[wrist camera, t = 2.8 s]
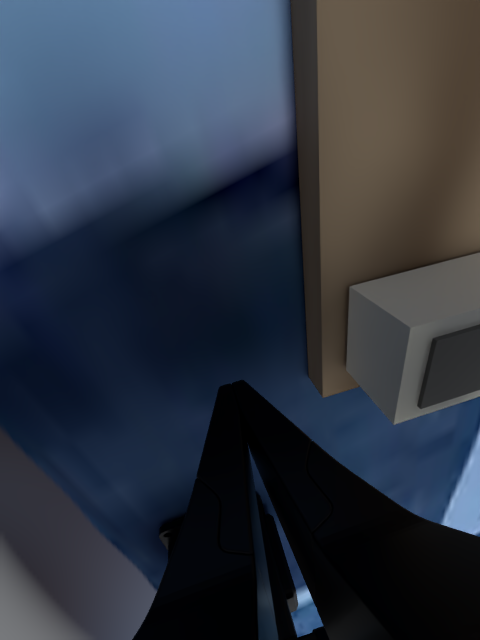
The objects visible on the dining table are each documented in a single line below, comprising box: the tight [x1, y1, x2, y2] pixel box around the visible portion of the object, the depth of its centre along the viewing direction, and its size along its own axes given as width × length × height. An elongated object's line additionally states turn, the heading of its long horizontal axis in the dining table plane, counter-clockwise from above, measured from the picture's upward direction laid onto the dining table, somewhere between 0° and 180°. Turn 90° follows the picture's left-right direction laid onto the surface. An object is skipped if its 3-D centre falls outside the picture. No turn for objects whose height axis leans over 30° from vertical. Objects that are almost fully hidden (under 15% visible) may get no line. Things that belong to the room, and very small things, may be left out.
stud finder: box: [346, 252, 480, 425], centre depth 10 cm, size 6×4×3 cm, turn 99°
